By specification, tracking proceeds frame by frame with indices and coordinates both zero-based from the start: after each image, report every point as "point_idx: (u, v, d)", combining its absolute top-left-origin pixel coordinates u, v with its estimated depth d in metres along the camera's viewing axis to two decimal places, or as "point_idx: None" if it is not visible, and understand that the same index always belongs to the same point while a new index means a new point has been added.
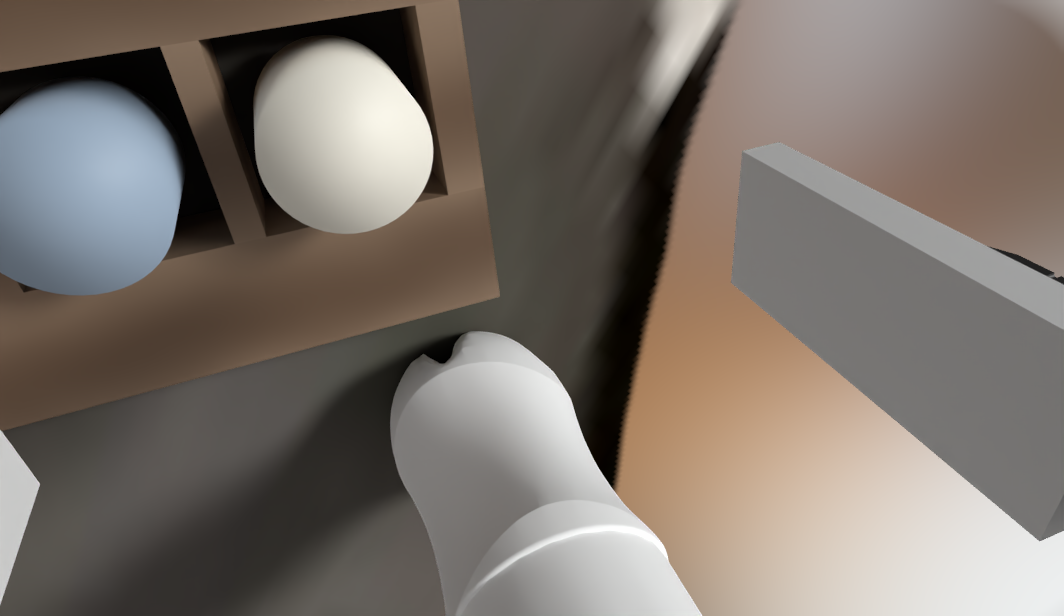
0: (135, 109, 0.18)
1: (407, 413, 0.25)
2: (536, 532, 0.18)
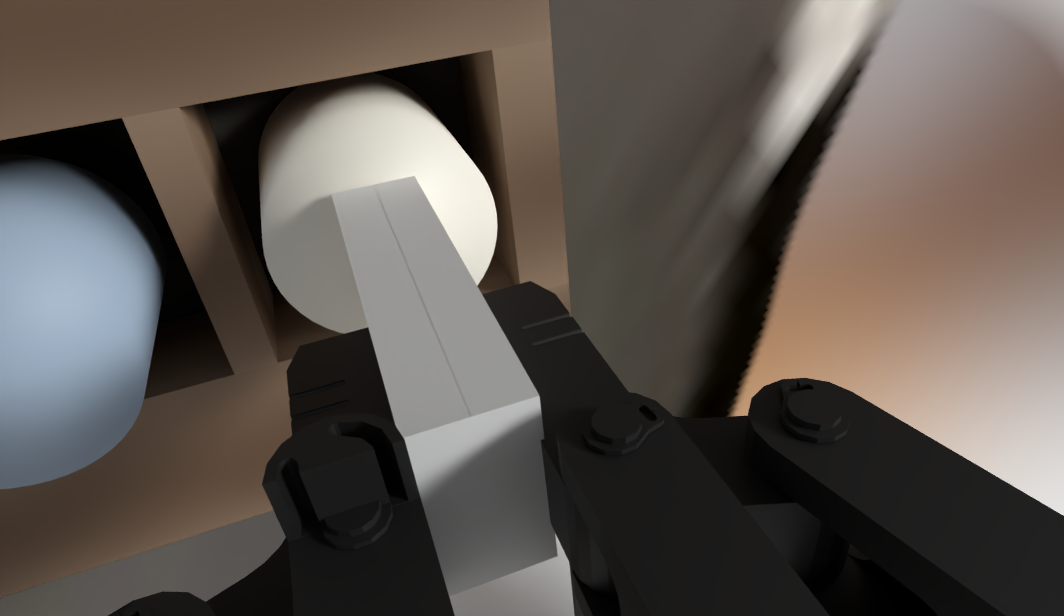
0: (88, 207, 0.12)
1: None
2: None
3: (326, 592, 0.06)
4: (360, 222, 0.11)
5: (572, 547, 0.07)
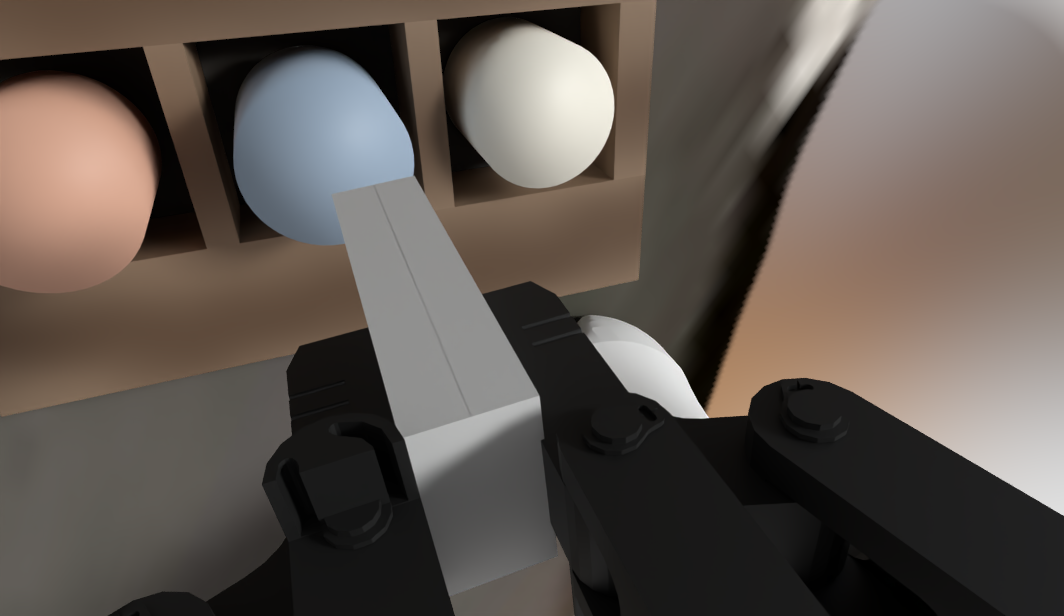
0: (370, 79, 0.19)
1: None
2: None
3: (326, 592, 0.06)
4: (360, 221, 0.11)
5: (572, 547, 0.07)
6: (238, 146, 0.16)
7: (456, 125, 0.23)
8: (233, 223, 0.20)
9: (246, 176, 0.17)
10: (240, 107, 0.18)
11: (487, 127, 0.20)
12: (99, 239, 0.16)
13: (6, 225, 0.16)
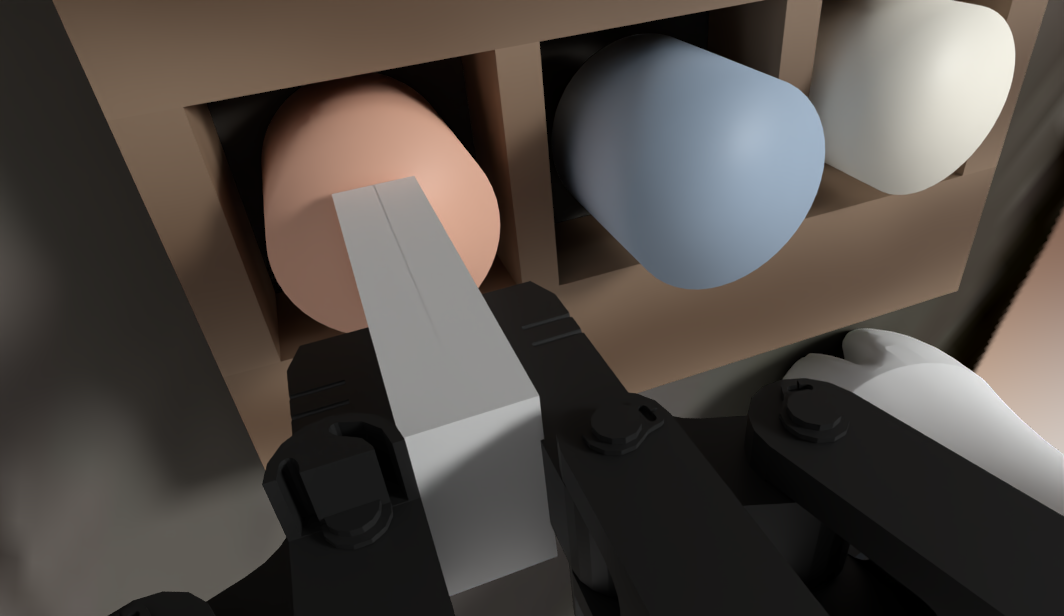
0: None
1: None
2: None
3: (326, 592, 0.06)
4: (361, 221, 0.11)
5: (572, 547, 0.07)
6: (638, 174, 0.12)
7: None
8: (556, 262, 0.16)
9: (639, 211, 0.13)
10: (605, 120, 0.14)
11: (871, 124, 0.16)
12: None
13: None
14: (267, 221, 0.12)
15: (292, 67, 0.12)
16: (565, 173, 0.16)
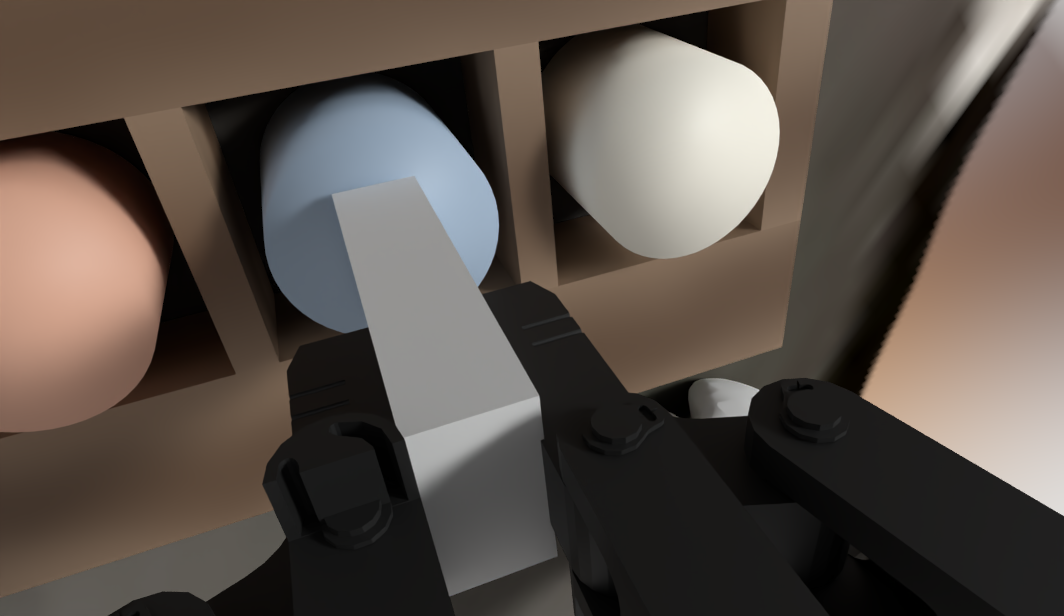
0: (431, 111, 0.15)
1: None
2: None
3: (326, 592, 0.06)
4: (361, 221, 0.11)
5: (572, 547, 0.07)
6: (269, 225, 0.12)
7: (550, 172, 0.17)
8: (269, 338, 0.14)
9: (282, 262, 0.13)
10: (267, 165, 0.13)
11: (611, 187, 0.14)
12: (96, 360, 0.12)
13: None
14: None
15: None
16: None
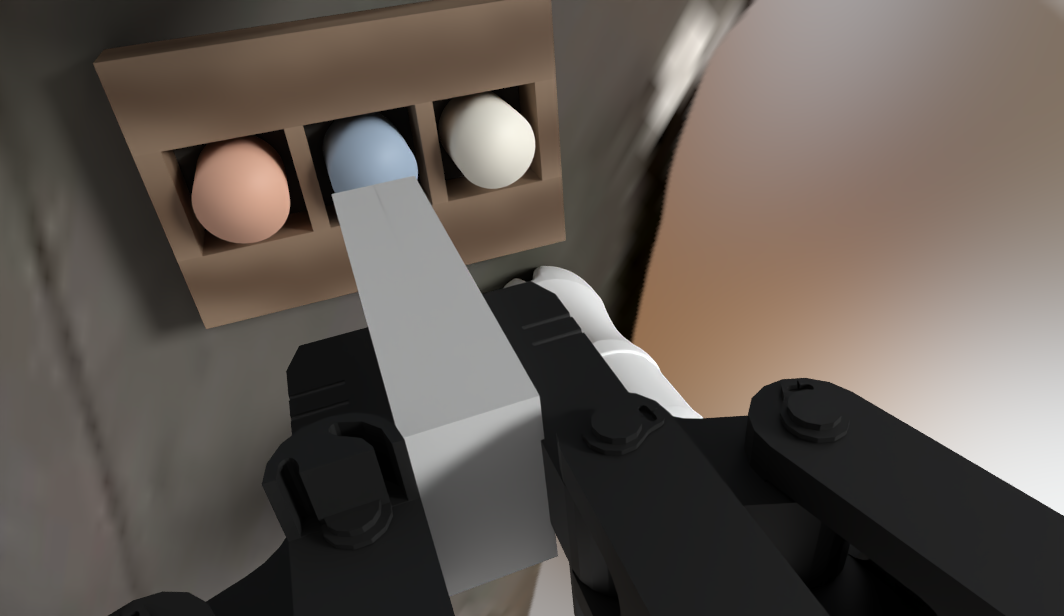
0: (393, 126, 0.36)
1: None
2: None
3: (326, 592, 0.06)
4: (360, 222, 0.11)
5: (572, 547, 0.07)
6: (332, 167, 0.34)
7: None
8: (327, 216, 0.36)
9: (336, 181, 0.34)
10: (329, 147, 0.35)
11: (463, 157, 0.36)
12: (268, 216, 0.34)
13: (229, 210, 0.33)
14: (192, 193, 0.32)
15: (201, 137, 0.32)
16: None
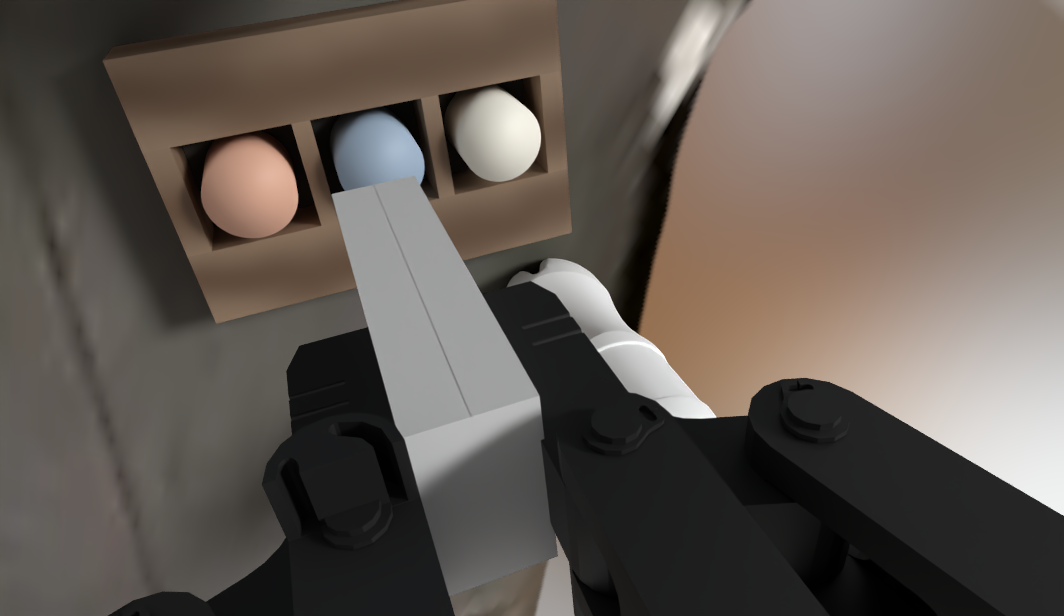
0: (399, 120, 0.37)
1: None
2: (601, 343, 0.36)
3: (326, 592, 0.06)
4: (360, 221, 0.11)
5: (572, 547, 0.07)
6: (339, 161, 0.34)
7: None
8: (335, 211, 0.36)
9: (343, 175, 0.35)
10: (336, 141, 0.35)
11: (469, 150, 0.36)
12: (277, 210, 0.34)
13: (237, 206, 0.34)
14: (201, 189, 0.33)
15: (210, 132, 0.32)
16: None
